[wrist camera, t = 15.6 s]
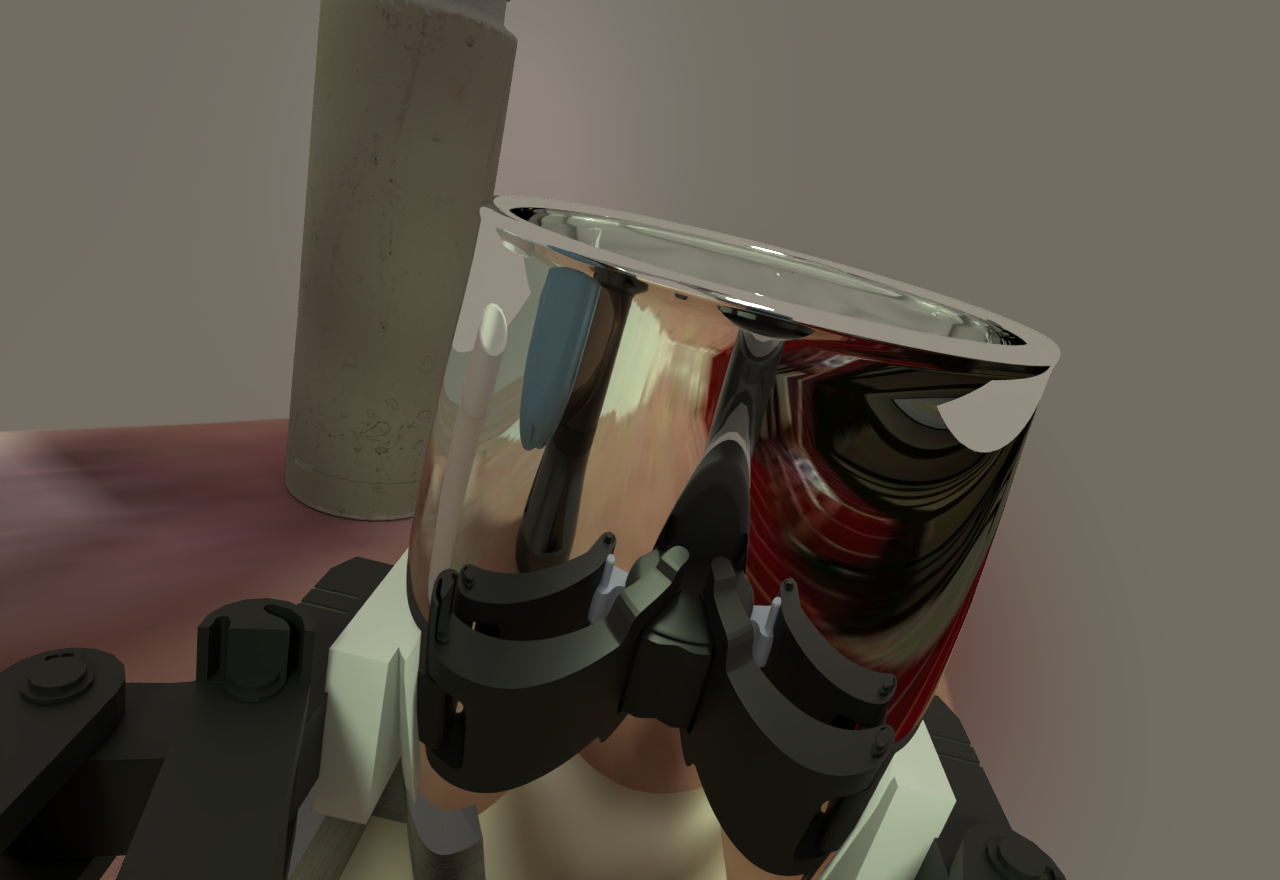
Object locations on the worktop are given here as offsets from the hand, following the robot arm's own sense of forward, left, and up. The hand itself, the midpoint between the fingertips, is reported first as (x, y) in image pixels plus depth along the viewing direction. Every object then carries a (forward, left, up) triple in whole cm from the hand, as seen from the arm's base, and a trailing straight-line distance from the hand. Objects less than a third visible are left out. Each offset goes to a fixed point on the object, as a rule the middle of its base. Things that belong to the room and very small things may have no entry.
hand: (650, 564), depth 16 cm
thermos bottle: (-23, +12, -11) cm, 28 cm away
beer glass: (+2, -4, -8) cm, 10 cm away
